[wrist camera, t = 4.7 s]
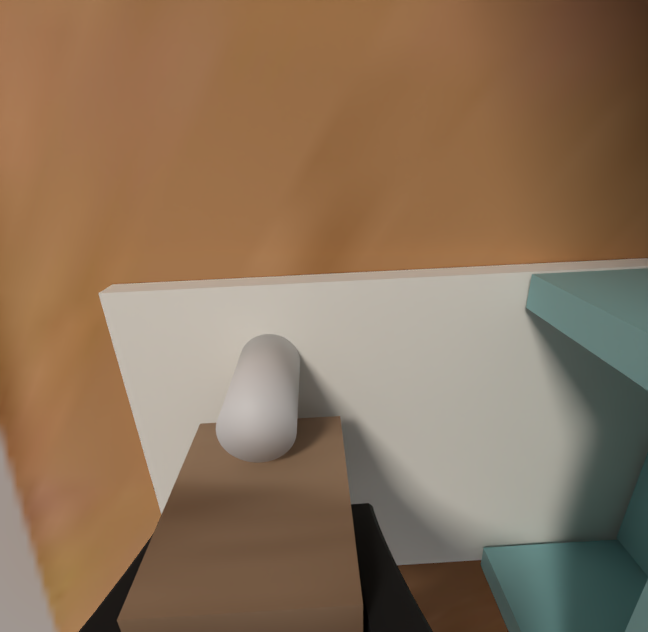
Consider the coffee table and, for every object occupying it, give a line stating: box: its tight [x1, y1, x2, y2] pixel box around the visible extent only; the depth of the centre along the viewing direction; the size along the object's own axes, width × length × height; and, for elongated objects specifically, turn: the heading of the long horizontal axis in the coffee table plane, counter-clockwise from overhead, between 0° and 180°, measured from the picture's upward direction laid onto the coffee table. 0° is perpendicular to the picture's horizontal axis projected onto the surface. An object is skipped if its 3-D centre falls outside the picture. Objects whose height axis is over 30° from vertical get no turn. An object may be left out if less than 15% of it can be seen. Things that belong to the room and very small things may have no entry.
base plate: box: [99, 258, 648, 565], centre depth 12 cm, size 12×18×4 cm, turn 92°
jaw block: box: [117, 416, 363, 632], centre depth 9 cm, size 4×4×5 cm
